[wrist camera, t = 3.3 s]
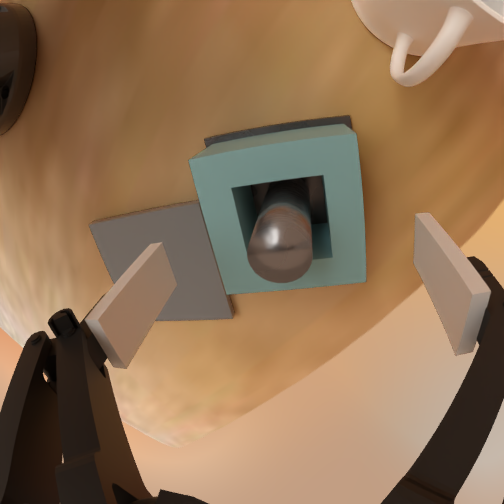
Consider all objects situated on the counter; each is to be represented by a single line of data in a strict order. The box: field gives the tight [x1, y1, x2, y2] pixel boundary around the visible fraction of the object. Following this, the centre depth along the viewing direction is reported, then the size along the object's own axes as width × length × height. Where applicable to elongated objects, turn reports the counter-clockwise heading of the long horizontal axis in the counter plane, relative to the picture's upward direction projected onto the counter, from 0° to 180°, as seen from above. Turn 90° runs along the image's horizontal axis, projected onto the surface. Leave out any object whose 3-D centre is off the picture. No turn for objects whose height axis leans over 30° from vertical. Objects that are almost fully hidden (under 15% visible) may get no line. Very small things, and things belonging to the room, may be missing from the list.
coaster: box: [89, 200, 234, 321], centre depth 27 cm, size 11×11×1 cm
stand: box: [204, 115, 352, 283], centre depth 18 cm, size 10×10×9 cm
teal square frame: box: [188, 124, 366, 295], centre depth 19 cm, size 9×9×5 cm
